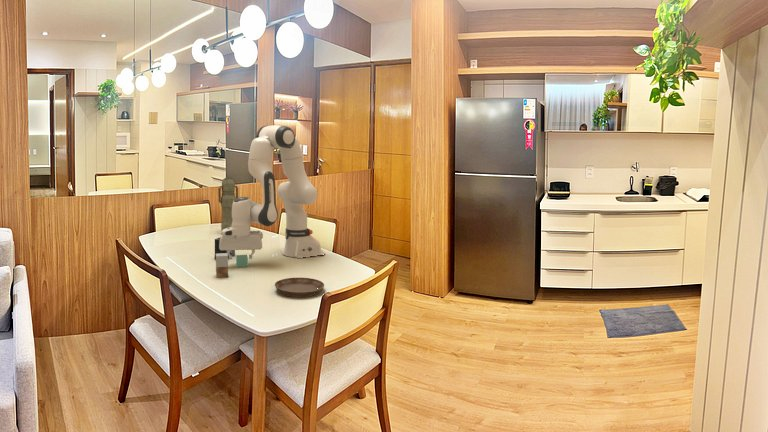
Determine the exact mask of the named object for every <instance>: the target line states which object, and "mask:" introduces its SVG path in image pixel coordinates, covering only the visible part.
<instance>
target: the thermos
mask: <svg viewBox="0 0 768 432" xmlns="http://www.w3.org/2000/svg"><path fill="white" fill-rule="evenodd" d="M221 192H222V193H221ZM235 192H236V194H235ZM217 193H218V203H220V206H221V225H220V227H221V229H220V230H221V232H222V230H223V229H226V228H229V227H232V221H233V219H232V204H233V201H234V200H235V199H236V198H239V187H238V185H236V184H235V181H234V178H231V177H225V178H223V179H222V181H221V186H219V187H218V190H217ZM221 235H223V234H222V233H221Z"/></svg>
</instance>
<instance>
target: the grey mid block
mask: <svg viewBox="0 0 768 432" xmlns="http://www.w3.org/2000/svg"><path fill="white" fill-rule="evenodd" d="M216 267H228V268H229V258H228V254H227V253H219V254H216V259H215V268H216Z"/></svg>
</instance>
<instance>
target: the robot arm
mask: <svg viewBox="0 0 768 432" xmlns="http://www.w3.org/2000/svg"><path fill="white" fill-rule="evenodd" d="M275 148H277V149H279V151H280V161H281V166H282V173H283V174H284V176H286V178H287V180H288V181H283V182H281V183H280V184H279V185H278V187H277V191H276V179H275V175H274V173H273V169H272V161H273V151H274V149H275ZM302 152H303V151H302V147H301V144H300V141H299V139H298V137H296V135H295V132H294V130H293V129H292V128H291V127H289V126H287V125H280V124H279V125H278V124H276V125H275V124H274V125H263V126H260V127H259V129H257V132H256V136H255V138H254V139H252V141H251V144H250V148H249V152H248V153H249V154H248V162H247V168H248V173H249V174H250V175H251V176H252V178H254V179H256V180H257V181H258V183H260V185H261V187H262V203H257V202H255V201H253V200H251V199H250V198H249V197H247V196H240V197H239V196H238V198H236V199H235V200H234V201H233V204H232V219H233V221H232V227H229V228H226V229H223V230H222V231H221V236H220V242H219V249H220V250H227V253H228V255H229V258H228V260H233V257H232V255H230V253H229V252H230V250H235V251H249V250H251V253H250V254H248V259H249V260H251V259H253V255H254V254H255V253H256V250H262V248H263V238H264V233H263V232H262V231H260V230H251V226H252V225H251V223H255V224H258V225H261V226H262V225H263V226H265V227H271V226H273V225H275V223H276V222H277V220H278V217H279V213H278V211H279V210H278V208H277V199H276V198H277V196H278V198H280V200H281V202H282V204H283V206H284V210H285V211H284V212H285V216H286V217H285V219H286V220H285V221H286V224H285V225H286V227H285V231H284V236H285V237H284V238H285V245H284V248H283V249H284V250H283V252H282V254H283V256H286V257H291V258H296V259H303V257H306V258H311V257H310V256H316V257H318V256H317V255H323V254H325V255H326V251H325V250H324V249H322V246H321V243H320V242H319V240H317V238H315V237H314V236H313V235H312V234H313V233H314V232H313V230H312V229H310V228H308V213H307V212H306V210H305V209H304V207H303V205H311V204H314V203H315V202H316V200H317V198H318V190H317V188H316V187H315V186H314V185H313V184H312V183H311V181H310V178H309V177H308V175H307V173H306V170H305V162H304V158H303V153H302ZM276 192H277V193H276ZM276 194H277V196H276ZM222 234H223V235H222Z"/></svg>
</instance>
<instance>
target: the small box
mask: <svg viewBox="0 0 768 432" xmlns="http://www.w3.org/2000/svg"><path fill="white" fill-rule="evenodd" d="M220 237H221V236H220ZM220 237H217V238H215V239H214V260H216V254H219V253H227V250H220V249H219V242H220ZM229 253H230V255H232V258H233V257H234V256H235V257H236V250H230V252H229ZM227 254H228V253H227ZM228 259H229V255H228Z"/></svg>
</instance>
